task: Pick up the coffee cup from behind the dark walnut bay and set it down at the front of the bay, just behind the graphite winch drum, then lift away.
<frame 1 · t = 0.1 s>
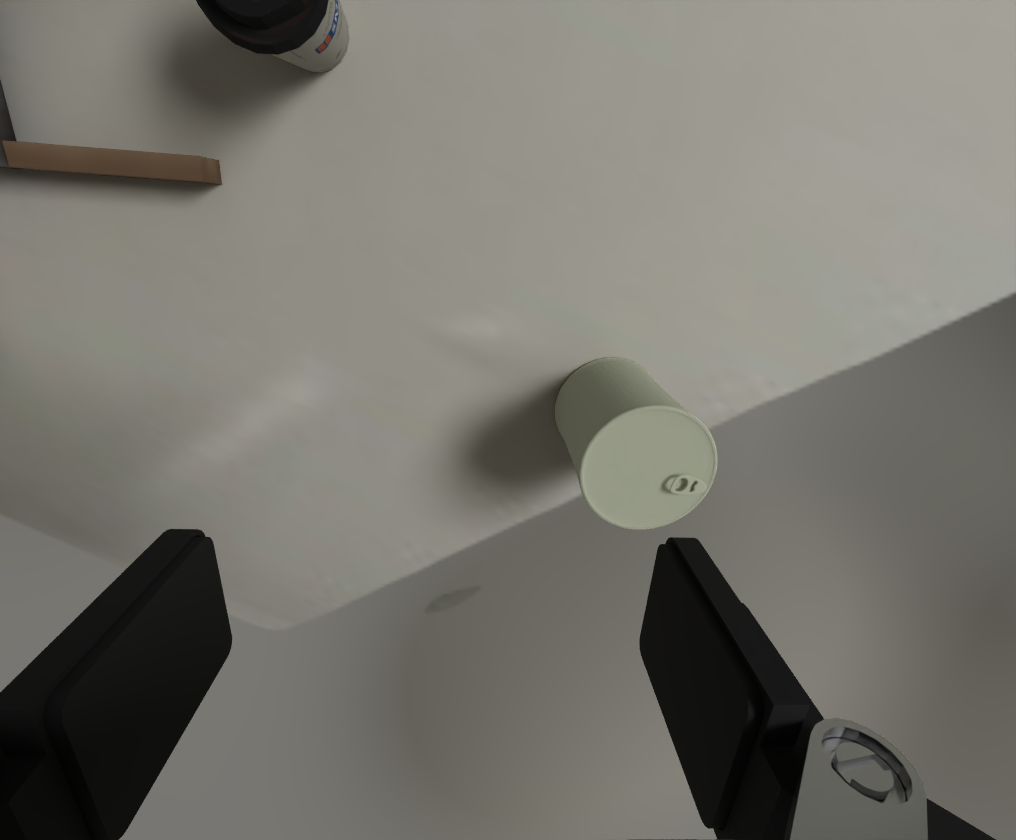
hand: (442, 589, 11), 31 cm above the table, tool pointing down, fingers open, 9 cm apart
bay: (100, 9, 31), on the table
can: (606, 408, 43), on the table
coffee cup: (313, 31, 32), on the table
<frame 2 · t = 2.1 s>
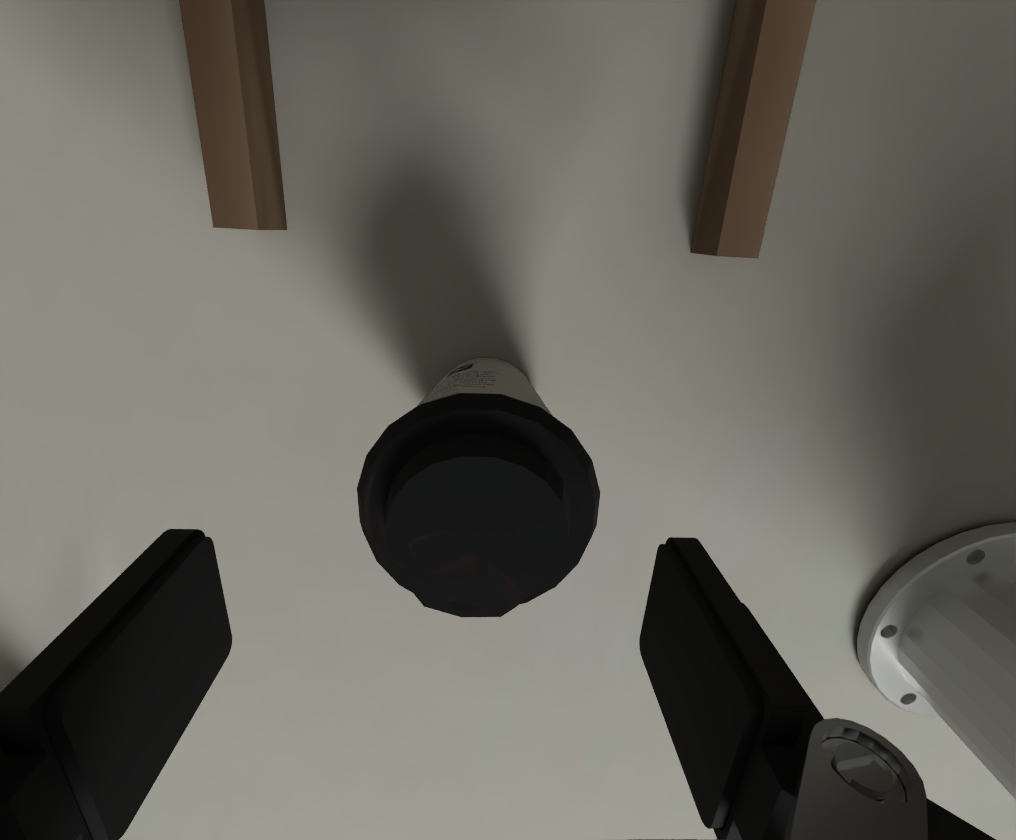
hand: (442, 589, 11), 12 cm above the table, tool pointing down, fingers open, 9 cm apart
bay: (499, 60, 17), on the table
coffee cup: (485, 405, 22), on the table
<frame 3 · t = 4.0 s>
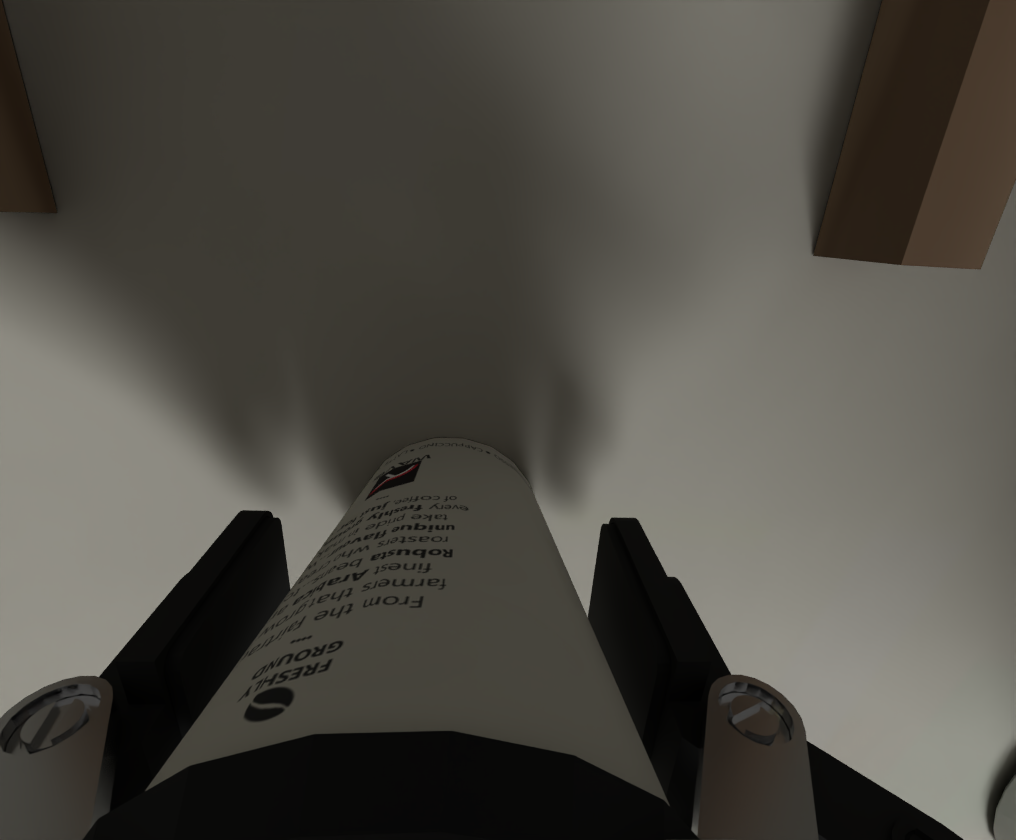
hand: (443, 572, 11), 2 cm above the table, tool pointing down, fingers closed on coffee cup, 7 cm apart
coffee cup: (450, 511, 13), on the table, touching gripper
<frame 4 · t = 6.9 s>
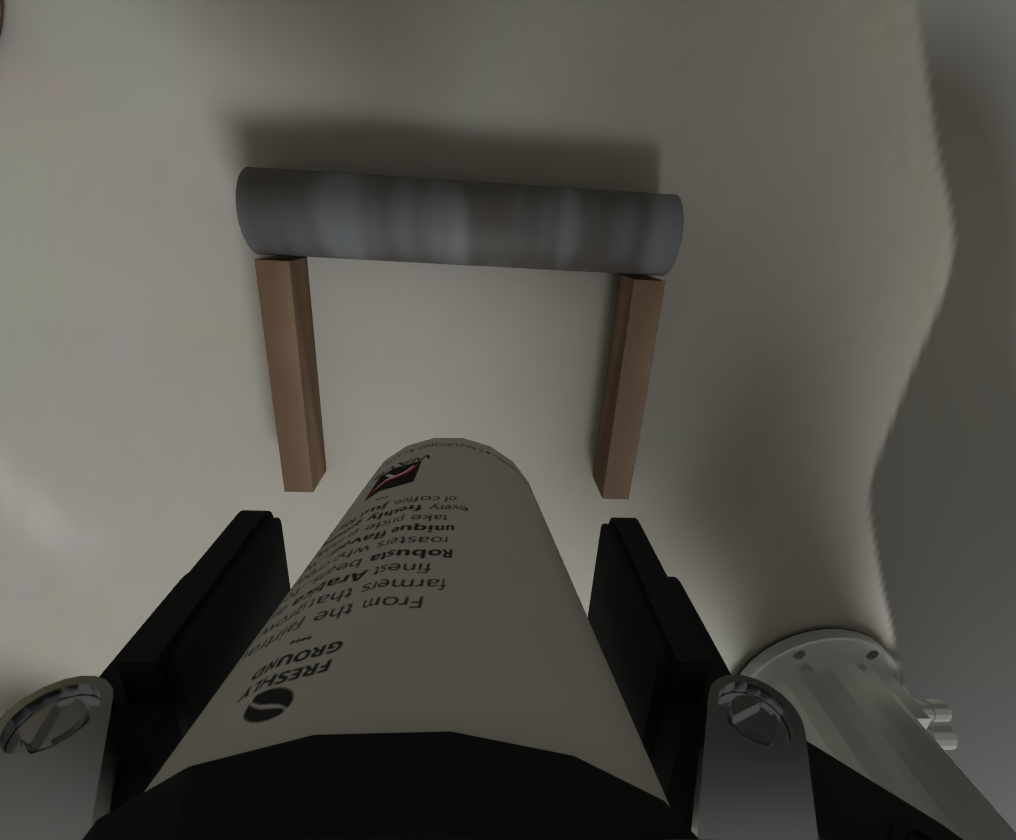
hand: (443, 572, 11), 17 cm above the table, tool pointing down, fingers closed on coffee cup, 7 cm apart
bay: (464, 378, 28), on the table
coffee cup: (450, 511, 13), point 15 cm above the table, touching gripper
when the fingers open (4 cm above the table, at t = 10.3 s): coffee cup drops 1 cm, on the table.
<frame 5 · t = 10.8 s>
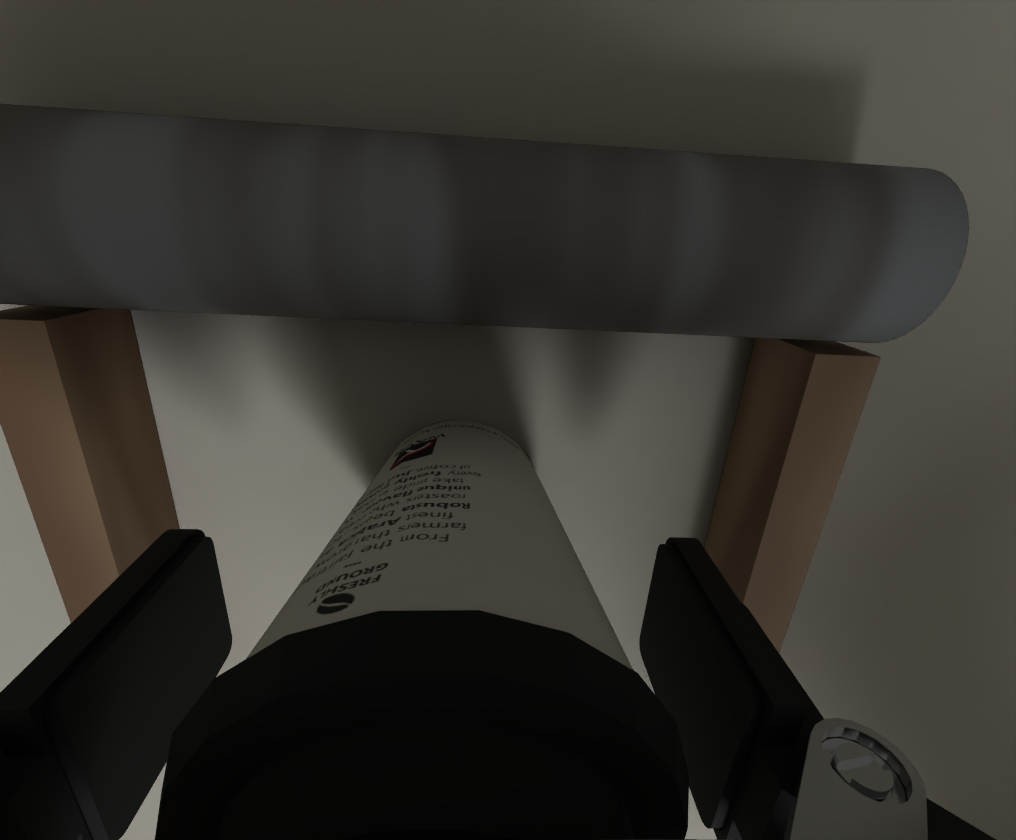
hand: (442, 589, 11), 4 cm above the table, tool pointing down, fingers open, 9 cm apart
bay: (452, 517, 15), on the table
coffee cup: (459, 488, 15), on the table
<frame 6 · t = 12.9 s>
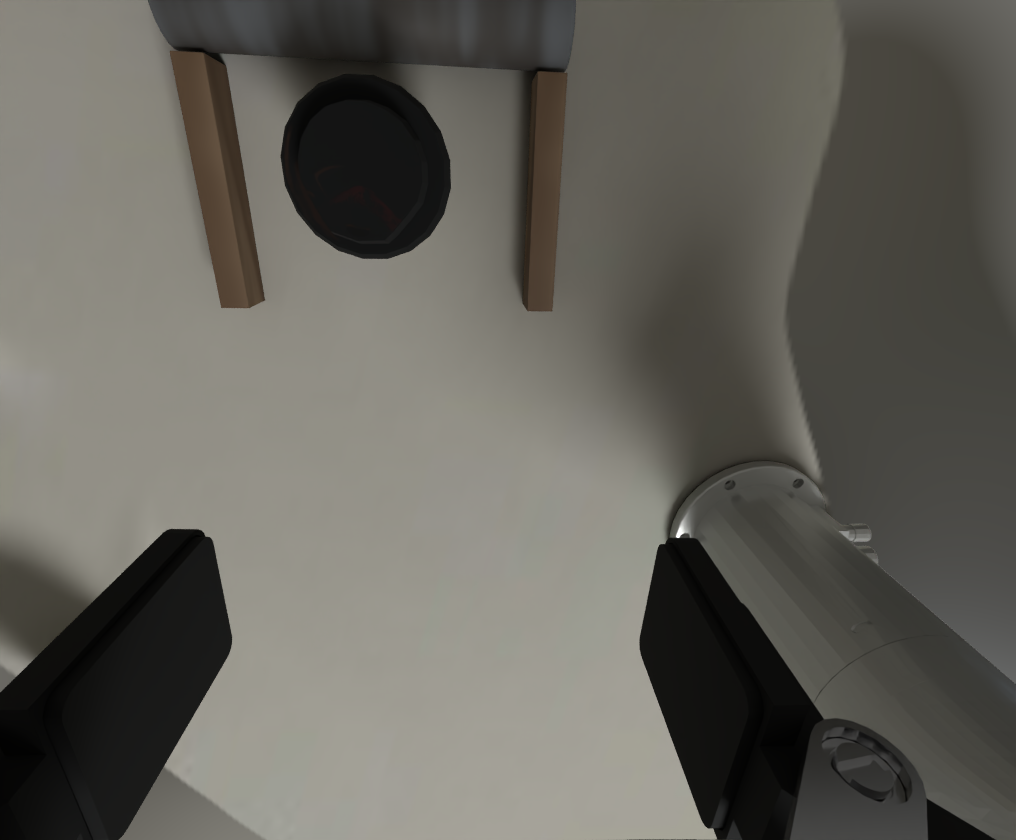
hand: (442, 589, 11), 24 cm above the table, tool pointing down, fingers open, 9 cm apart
bay: (390, 197, 29), on the table
coffee cup: (393, 181, 29), on the table
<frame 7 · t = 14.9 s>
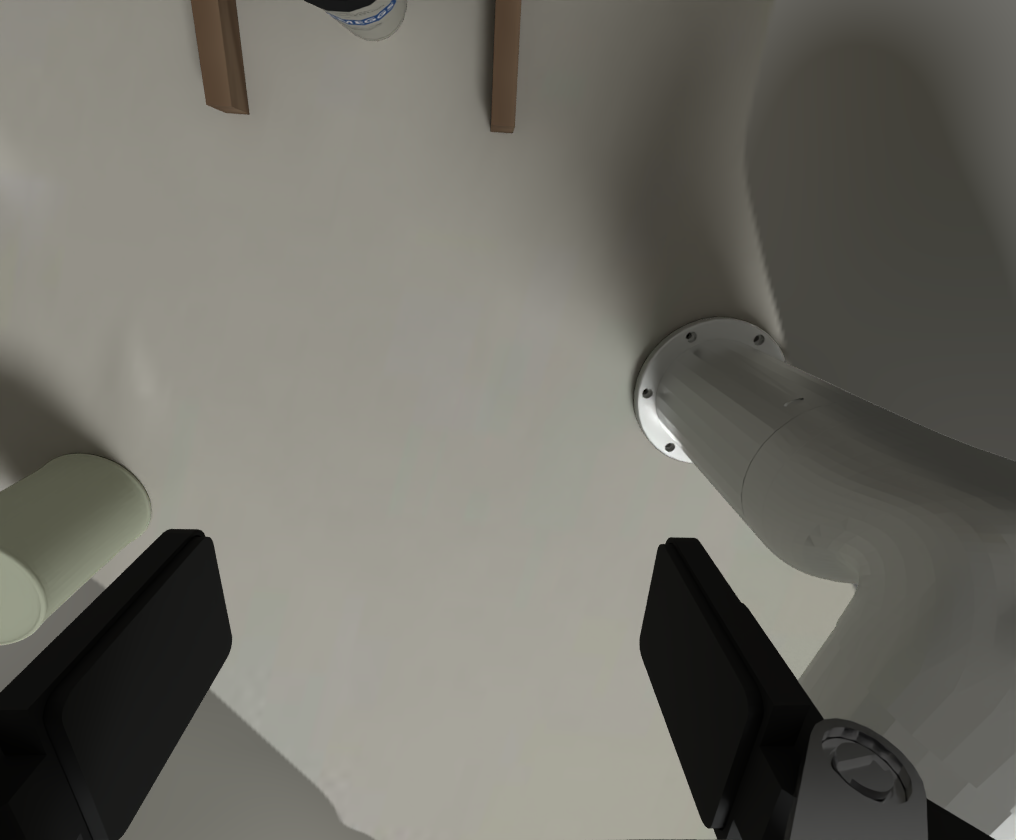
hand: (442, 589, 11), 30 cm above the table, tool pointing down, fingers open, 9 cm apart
bay: (367, 13, 31), on the table
can: (97, 499, 43), on the table
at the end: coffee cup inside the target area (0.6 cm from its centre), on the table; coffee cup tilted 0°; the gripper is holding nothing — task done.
